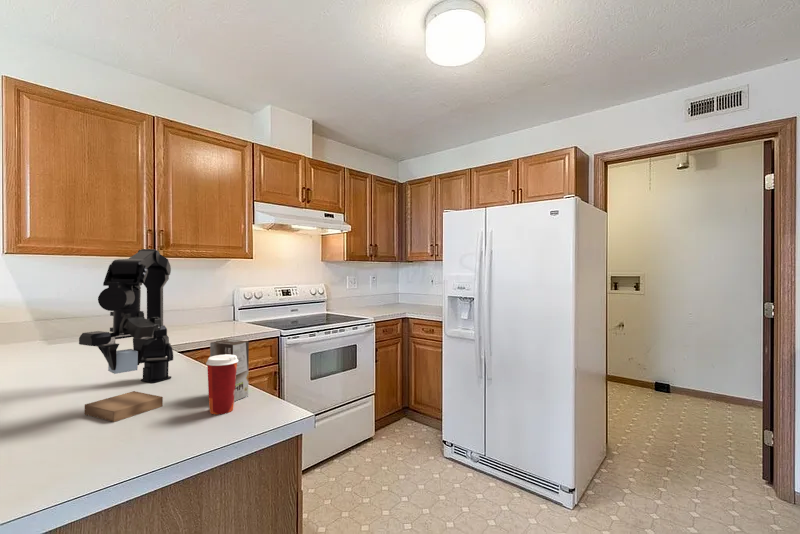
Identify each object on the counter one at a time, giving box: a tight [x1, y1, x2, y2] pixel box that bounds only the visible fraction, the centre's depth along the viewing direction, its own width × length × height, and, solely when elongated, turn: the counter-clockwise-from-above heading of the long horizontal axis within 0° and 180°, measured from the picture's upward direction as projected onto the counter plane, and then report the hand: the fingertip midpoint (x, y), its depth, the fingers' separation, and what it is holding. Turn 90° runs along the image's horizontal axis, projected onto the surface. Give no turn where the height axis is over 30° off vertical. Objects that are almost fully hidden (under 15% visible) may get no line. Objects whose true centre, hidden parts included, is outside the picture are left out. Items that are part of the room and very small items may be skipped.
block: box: [107, 348, 139, 375], centre depth 100 cm, size 5×5×5 cm
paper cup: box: [205, 354, 238, 416], centre depth 99 cm, size 8×8×14 cm
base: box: [83, 390, 164, 423], centre depth 99 cm, size 12×12×2 cm
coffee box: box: [209, 339, 250, 402], centre depth 110 cm, size 9×6×16 cm
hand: (125, 367), depth 99 cm, fingers closed on block, 5 cm apart
